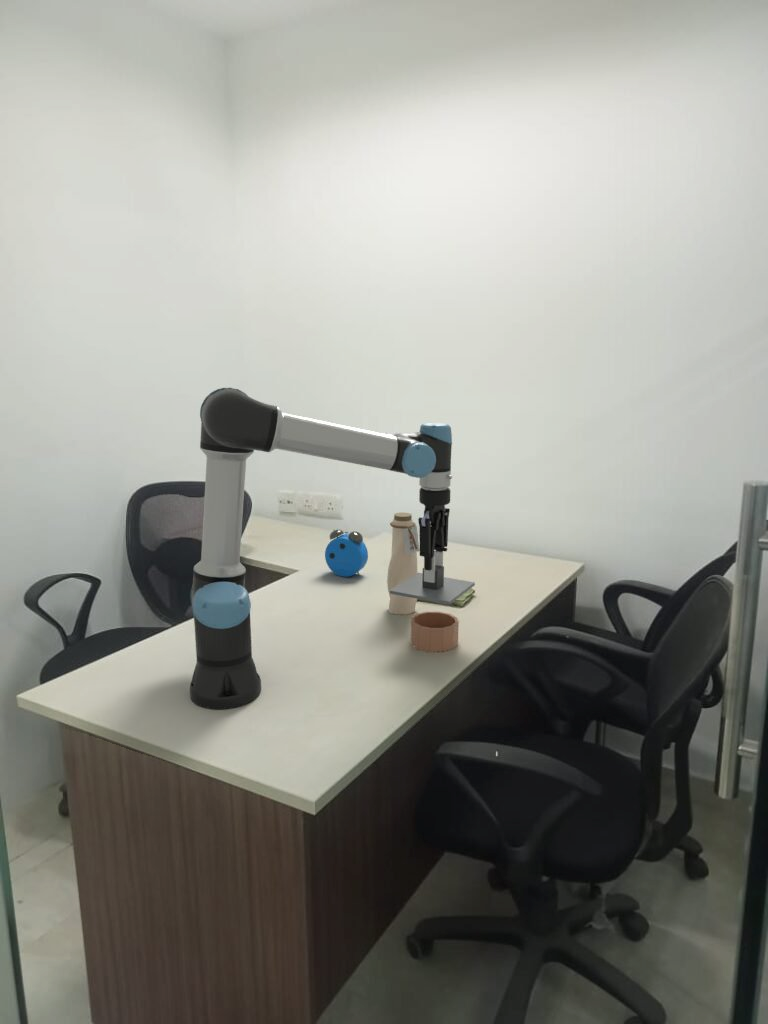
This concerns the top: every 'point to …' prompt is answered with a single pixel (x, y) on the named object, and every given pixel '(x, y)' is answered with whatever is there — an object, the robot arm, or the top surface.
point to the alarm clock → (346, 553)
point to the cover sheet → (430, 593)
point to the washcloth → (460, 600)
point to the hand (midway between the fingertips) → (433, 578)
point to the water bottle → (402, 561)
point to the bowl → (434, 631)
